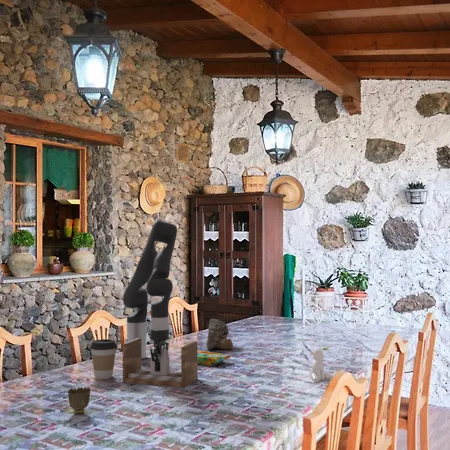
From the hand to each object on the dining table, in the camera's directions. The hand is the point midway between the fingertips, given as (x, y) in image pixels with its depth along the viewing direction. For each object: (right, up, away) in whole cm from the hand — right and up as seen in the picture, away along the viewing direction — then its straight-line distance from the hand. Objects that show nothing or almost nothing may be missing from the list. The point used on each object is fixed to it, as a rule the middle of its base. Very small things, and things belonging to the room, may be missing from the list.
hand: (159, 369), depth 248 cm
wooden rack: (0, -5, +1) cm, 5 cm away
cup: (-22, -4, -43) cm, 49 cm away
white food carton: (0, -2, 0) cm, 2 cm away
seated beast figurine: (+65, -5, +3) cm, 65 cm away
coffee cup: (-24, -5, +7) cm, 25 cm away
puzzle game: (+18, -5, +34) cm, 39 cm away
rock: (+23, -5, +67) cm, 71 cm away
